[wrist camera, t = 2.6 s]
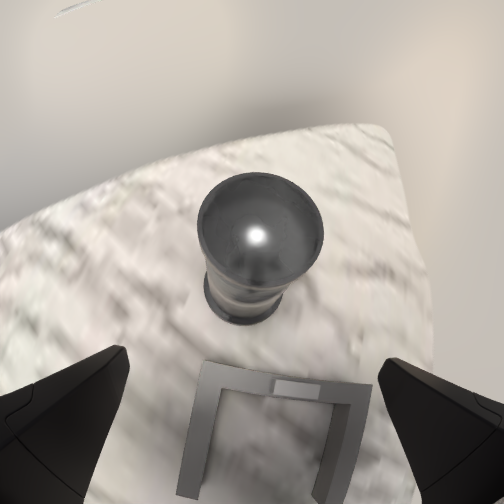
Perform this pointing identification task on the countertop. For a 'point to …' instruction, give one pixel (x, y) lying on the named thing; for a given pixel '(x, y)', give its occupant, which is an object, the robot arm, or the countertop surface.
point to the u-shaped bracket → (239, 379)
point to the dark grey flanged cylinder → (256, 244)
